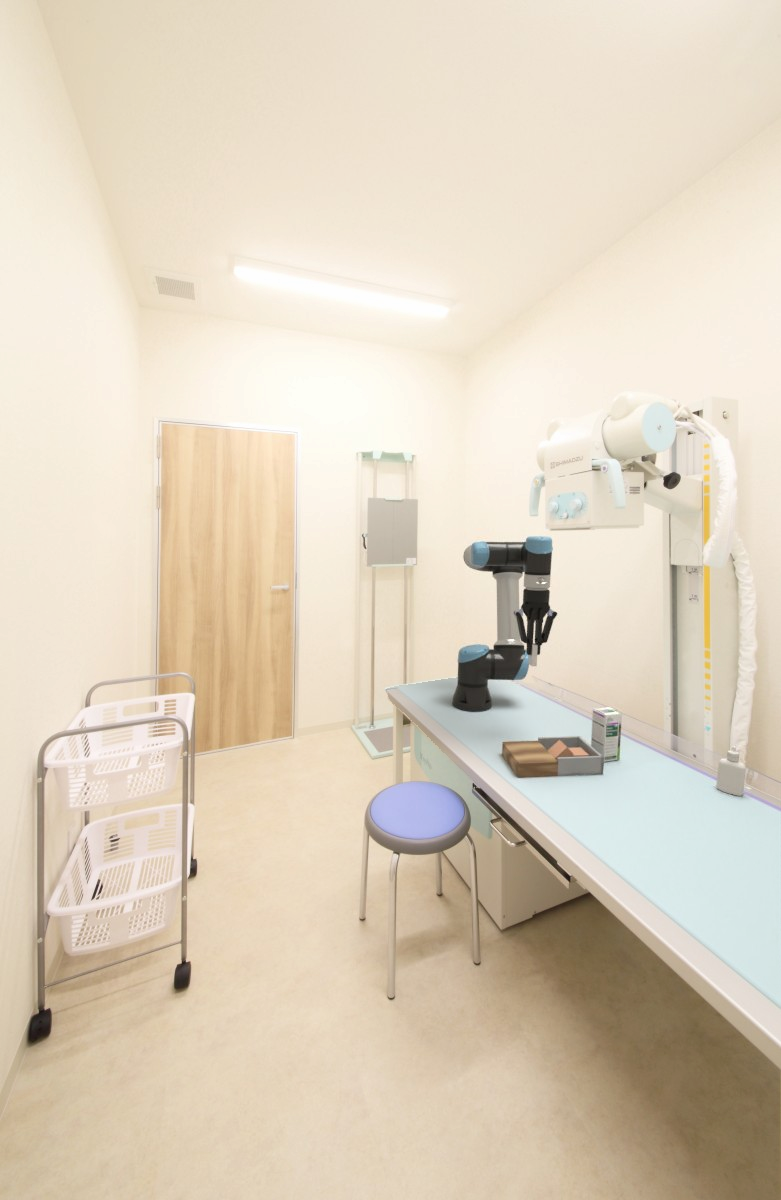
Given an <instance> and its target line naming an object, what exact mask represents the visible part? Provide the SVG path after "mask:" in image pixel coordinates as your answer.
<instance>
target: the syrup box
mask: <svg viewBox="0 0 781 1200" xmlns="http://www.w3.org/2000/svg"><path fill="white" fill-rule="evenodd" d="M622 714H623V713H622V712H620V711H619V710H617V709H615V708H612V707H609V706H606V707H600V708H592V718H591V719H592V721H591V741H590V745H591V746H592V747H593V748H594V749H595V750H596V751H598V752H599V753H600V754H601V755H602V756H604V763H606V762H612V761H620V756H621V755H620V753H621V736H622V722H623V721H622V717H623V715H622Z"/></svg>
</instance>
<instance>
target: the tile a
mask: <svg viewBox="0 0 781 1200" xmlns="http://www.w3.org/2000/svg"><path fill="white" fill-rule="evenodd" d="M548 752H549V753H550V754H551V755H552V756H553V757H554V758H555V759H556V760H557V757H571V756H572V755H573V753H572V752H571V751H570V750H569V748H568V747H567V746H566V745H565V744H564V743H562V742H561V741H560V740H559V741H557V742H556V743H555V744H554V745H553V746H552V747H551V748H550V749H549V750H548Z"/></svg>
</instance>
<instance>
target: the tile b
mask: <svg viewBox="0 0 781 1200" xmlns="http://www.w3.org/2000/svg"><path fill="white" fill-rule="evenodd" d="M569 750H570V751H571V752H572V753H573V755H572V756H571V757H582V756H589V754H587V753H586V752H585V751H584V750H583V749H582V748H581V747H578V748H569Z"/></svg>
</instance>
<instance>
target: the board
mask: <svg viewBox="0 0 781 1200" xmlns="http://www.w3.org/2000/svg"><path fill="white" fill-rule="evenodd" d="M501 745H502V749H501V755H502V757H503V758H504V759H505V761H506V762H507V764H508V765H509V766H510V768H511V769H512V771H513V772H514V773H515V775H516V776H517V777H518V779H519V778H539V777H540V778H541V777H559V776H558V761H557V760H556V759H555V758H554V757H553V756H552V755H551V754H550V753H549V752H548V751H547V750H546V749H545V747H544V746H543V745H542V744H541V743H540V742H539V741H538V740H516V741H515V740H513V741H510V740H509V741H502V744H501Z"/></svg>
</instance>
